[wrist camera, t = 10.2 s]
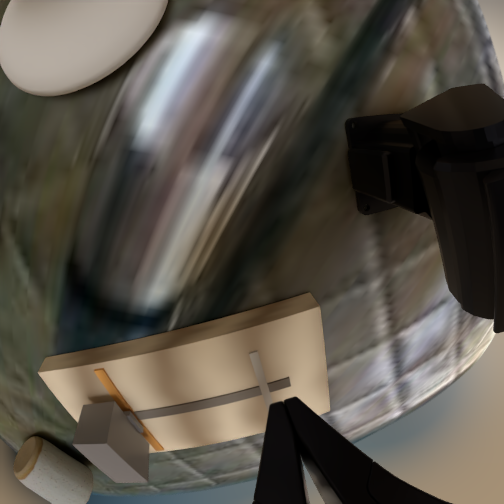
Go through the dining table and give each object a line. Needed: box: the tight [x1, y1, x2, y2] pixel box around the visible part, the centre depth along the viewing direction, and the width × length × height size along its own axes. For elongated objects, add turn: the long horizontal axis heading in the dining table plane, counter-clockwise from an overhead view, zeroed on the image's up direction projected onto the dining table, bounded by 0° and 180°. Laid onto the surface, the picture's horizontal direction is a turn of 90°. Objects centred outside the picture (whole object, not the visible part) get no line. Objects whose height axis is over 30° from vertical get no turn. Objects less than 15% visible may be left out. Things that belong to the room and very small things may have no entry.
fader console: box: [38, 292, 330, 453], centre depth 21 cm, size 22×12×2 cm, turn 103°
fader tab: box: [72, 401, 150, 483], centre depth 18 cm, size 4×6×4 cm, turn 13°
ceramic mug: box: [13, 436, 93, 504], centre depth 21 cm, size 11×8×8 cm
